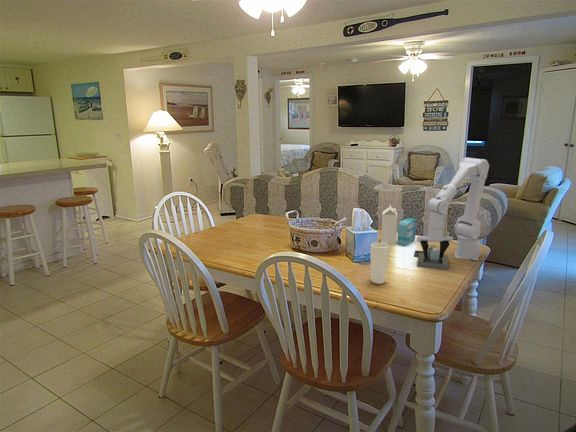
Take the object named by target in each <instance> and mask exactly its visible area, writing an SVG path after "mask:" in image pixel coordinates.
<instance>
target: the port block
mask: <svg viewBox="0 0 576 432" xmlns="http://www.w3.org/2000/svg"><path fill="white" fill-rule="evenodd" d="M427 258H428V255H427ZM416 264H417V265H416V266H417V267H418V268H426V269H427V268H428V269H434V270H435V269H437V270H443V271H444V270H445V271H448V270H449V255H446V254H444V255H443V258H442V259H441V258H440V257H439V261H434V260H427V259H426V258H425V257H424V253H420V252H419V257H417V262H416Z"/></svg>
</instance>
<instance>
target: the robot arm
mask: <svg viewBox="0 0 576 432" xmlns="http://www.w3.org/2000/svg"><path fill="white" fill-rule="evenodd" d="M489 169H490V163H489V162H488V160H487V159H484V158H474V157H463V159H461V162H460V163H459V164H458V170H457V172H456V174H455V175H454V176H453V178H452V179H451V181H449V184H444V185H443V186H442V188H441V190H440V191H438V193H437V194H436V196H435V197H432V198H431V199H430V200H429V201H428V202H427V204H426V209H427V211H428V213H427V214H428V215H429V216H428V229H427V231H428V232H427V235H422V236H421V235H420V236H416V242H417V243H420V245H421V247H422V251H423V252H424V257H425V258H426V259H427V255H428V248H430V244H429V242H431V243H433V242H435V243H436V242H437V243H438V242H439V257H440V258H441V259H442V258H443V255H445V253H446V251H447V249H448V248H449V246H450V243H453V242H454V237H453V236H450V235H449V236H448V235H443V233H444V219H445V214H446V212H448V209H449V206H450V202H451V201H452V200H453V198H454V197H455V196H456V195H457V194H458V191H457V188H459V187H460V186H461V184H462V183H464V181H465V180H466V179H467V178H468V177H469V180H470V185H469V190H468V194H467V198H466V202H465V207H464V212H463V215H460V216H459V217H457V221H456V223H455V225H454V227H453V230H454V234H456V237H457V239H456V241H457V242H456V249H455V251H454V257H455V258H456V259H457V258H458V259H466V260H471V261H479V257H480V253H481V252H480V248H481V238H479V237H480V235H481V233H482V232H481V231H482V230H481V226H482V222H481V221H480V220H479V219H478V218H477V217H478V216H477V215H478V212H479V207H480V205H481V201H482V195H483V191H484V187H485V183H486V179H487V178H488V173H489Z"/></svg>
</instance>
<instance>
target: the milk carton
mask: <svg viewBox="0 0 576 432" xmlns="http://www.w3.org/2000/svg"><path fill="white" fill-rule="evenodd" d="M381 215H382V217H381V237H380V238H381V239H380V242H382V243H386V244H388V245H397V234H398V210H397V209H396V208H395V207H392V206H391V203H390V204H389V207H387V208H385V210H383V211H382V213H381Z"/></svg>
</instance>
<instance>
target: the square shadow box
mask: <svg viewBox="0 0 576 432" xmlns="http://www.w3.org/2000/svg"><path fill="white" fill-rule="evenodd" d="M419 252H420V253H424V252H423V250H416V249H415V250H414V254H413V257H414V258H418V257H419Z"/></svg>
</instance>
